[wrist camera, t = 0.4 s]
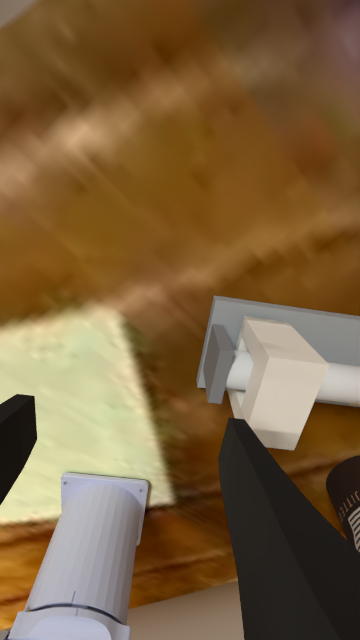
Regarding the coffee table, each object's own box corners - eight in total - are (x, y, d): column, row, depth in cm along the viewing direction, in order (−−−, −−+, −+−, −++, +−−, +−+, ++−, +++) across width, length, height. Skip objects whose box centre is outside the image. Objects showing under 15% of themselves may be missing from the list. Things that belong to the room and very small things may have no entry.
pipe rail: (387, 403, 22) (440, 452, 18) (196, 379, 21) (201, 425, 17) (428, 326, 20) (502, 360, 15) (213, 295, 19) (225, 322, 14)
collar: (265, 390, 20) (294, 450, 15) (226, 385, 20) (242, 444, 15) (287, 322, 18) (329, 365, 13) (244, 316, 18) (269, 357, 13)
